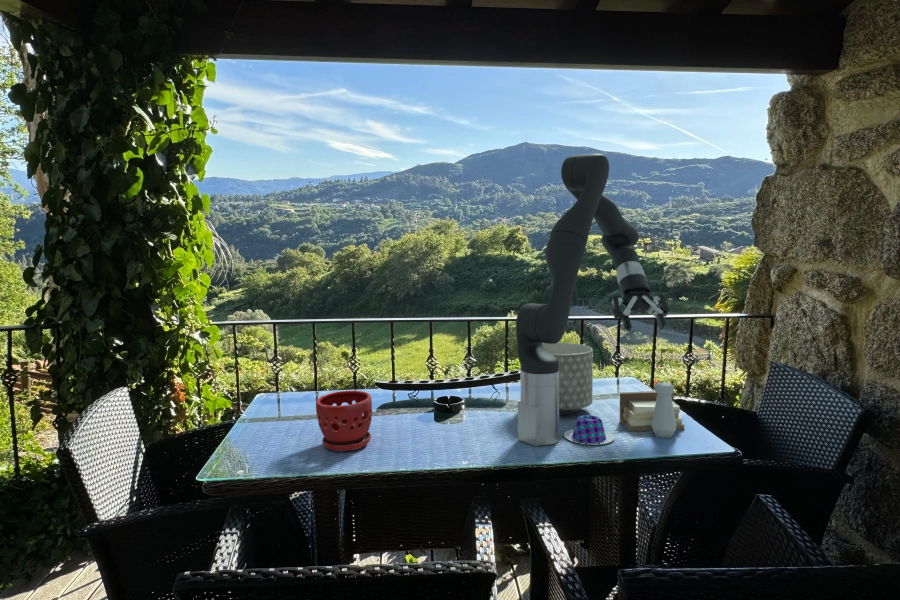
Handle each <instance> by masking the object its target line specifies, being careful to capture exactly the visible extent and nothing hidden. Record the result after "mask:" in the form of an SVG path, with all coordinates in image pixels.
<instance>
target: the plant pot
mask: <svg viewBox="0 0 900 600" xmlns="http://www.w3.org/2000/svg"><path fill="white" fill-rule="evenodd" d="M353 402H355V403H353ZM344 403H346V404H345V405H343V404H344ZM315 410H316V419H317V423H318V427H319V429H320V432H321V434H322V435H323V437H322V444H323V446H324V447H326V448H327V449H329V450H331V451H334V452H348V451H349V452H350V451H357V450H358V449H361V448H363V447H364V446H366V445H367V444H369V442H370V441H371V439H372V434H371V432H369V430H370V427H371V424H372V416H373V401H372V396H371V394H370V393H369V392H367V391H366V392H365V391H362V390H342V391H334V392H330V393H327V394H325V395H324V394H323V395H322V396H320V397H318V398H317V399H316V401H315Z"/></svg>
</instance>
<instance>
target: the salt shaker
mask: <svg viewBox="0 0 900 600" xmlns="http://www.w3.org/2000/svg"><path fill="white" fill-rule="evenodd" d="M674 390H675V388H674V386H673V384H672V383H668V382H657V383H656V384H655V386H654V392H656V393H658V394H657V399H656V404H655V409H654V414H653V419H652V423H651V427H652V429H653V431H652V432H654V433H653V434H654V435H655V437H658V438H662V439H671V438H672V437H673V435H674V434H675V432H676V431H677V430H676V421H675V415H674V409H673V403H672V397H671V394H673V392H674Z"/></svg>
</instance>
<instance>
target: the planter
mask: <svg viewBox="0 0 900 600" xmlns="http://www.w3.org/2000/svg"><path fill="white" fill-rule="evenodd" d="M542 345H543V347H544V348H545V349H546V351H547V352H549V353H550V354H551V355H553V356H555V357H556V358H557V359H558V361H559V416H560V415H569V414H572V413H575V412H577V411H580V410H581V409H582V408H587V407H589V406H591V405H592V404H593V387H594V386H593V382H594V381H593V378H594V377H593V372H594V371H593V370H594V369H593V367H594V365H593V363H594V362H593V361H594V360H593V359H594V357H593V354H594V353H593V347H592V346H589V345H585V344H581V343H573V342H558V343H556V344H548V343H542Z"/></svg>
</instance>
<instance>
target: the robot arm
mask: <svg viewBox="0 0 900 600" xmlns="http://www.w3.org/2000/svg"><path fill="white" fill-rule="evenodd" d="M609 162H610V161H609V159H608V157H607V156H606V155H605V154H603V153H585V154H576V155H575V154H574V155H570V156H567V157H566V158H565V159H564V161H563V163H562V165H561V171H560V175H561V181H562V184H563V185H564V187H565V188H566V190H568V192H569V193H570V194H571V195H572V196H573V197H574V198H575V199H576V202H575V203H574V204H573V205H572V206H571V207H570V208H569V209H568V210H567V211H566V212H565V213H564V214H563V215H562V216H561V217H560V218H559V219H558V220H557V222H555V224H554V225H553V227H552V229H551V231H550V234H549V237H548V240H547V244H546V248H545V250H544V251H545V253H544V254H545V261H546V264H547V268H548V271H549V274H550V279H551V282H552V286H551V287H552V288H551V293H550V298H549V301H548V303H547V304H546V303H532V302H531V303H525V304H523V305H522V306H521V307H520V309H519V310H518V312H517V315H516V323H515V330H516V331H515V333H516V348H517V359H518V363H519V367H520V401H518V403H517V440H518V441H520V442H523V443H526V444H529V445H531V446H534V447H539V446H550V445H554V444H557V443H559V441H560V415H559V361H558V359H557V358H556V357H555V356H553V355H551V354H550V353H549V352H547V351H546V349H545V348H544V347H543V345H542V343H548V344H556V343H560V341H561V340H562V339H563V337H564V335H565V332H566V330H567V326H568V322H569V318H570V317H569V316H570V311H571V305H572V300H573V296H574V290H575V285H576V281H577V278H578V273H579V269H580V268H581V267H580V266H581V264H582V261H583V257H584V254H585V250H586V248H587V243H588V239H589V235H590V232H591V228H592V224H593V221H594V222H595V223H596V224H597V226H598V228H599V229H600V231H601V232H602V236H601V239H600V241H601V244H602V246H603V248H604V249H605V251H606V252H607V253H608V255H609V256H610V258H611V259H612V263H613V264H614V267H615V268H614V269H615V272H616V280H617V284H618V287H619V291H620V294H621V297H618V296H617V295H613V297H612V300H611V306H612V312H613V313H612V314H613V318H614V319H615V320H618V319H621V321H622V324H623V328H624V330H626V332H631V330H632V327H633V326H632V322H631V319H630V314H631V312H633V313H639V312H640V313H646V312H647V314H649V315H652V316H653V317H654V318H655V319H656V323H657V326H658V330H659V331H663V329H664V328H665V326H666V324H667V323H666V319H665V317H667V316H668V315H669V312H670V308H669V306H668V303H667V301H666V298H665V296H664V295H663V294H662V293H660V294H659V295H656V296H653V295H652V293H651V291H650V286H649V284H648V281H647V278H646V274H645V270H644V269H643V267H642V264H641V261H640V258H639V254H638V252H637V251H636V250H635V249H634V248H631V247H634V246H635V245H637V243H638V242H639V240H640V236H639V232H638V230H637V228H636V226H634V225H633V224H632V223H631V222H629V220H627V219H625V218H624V217H623V215H622V212H621V211H620V210H619V207H618V206H617V204H615V202H614V201H613V200H612V199H610V198H609V197H607V196H606V195H604V191H605V188H606V185H607V184H608V183H607V182H608V179H609V174H610V163H609ZM621 304H622V305H623V306H625V307H626V308H625V309H624V311H621V308H620V305H621ZM657 305H658V306H657ZM650 307H651V308H650Z"/></svg>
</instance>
